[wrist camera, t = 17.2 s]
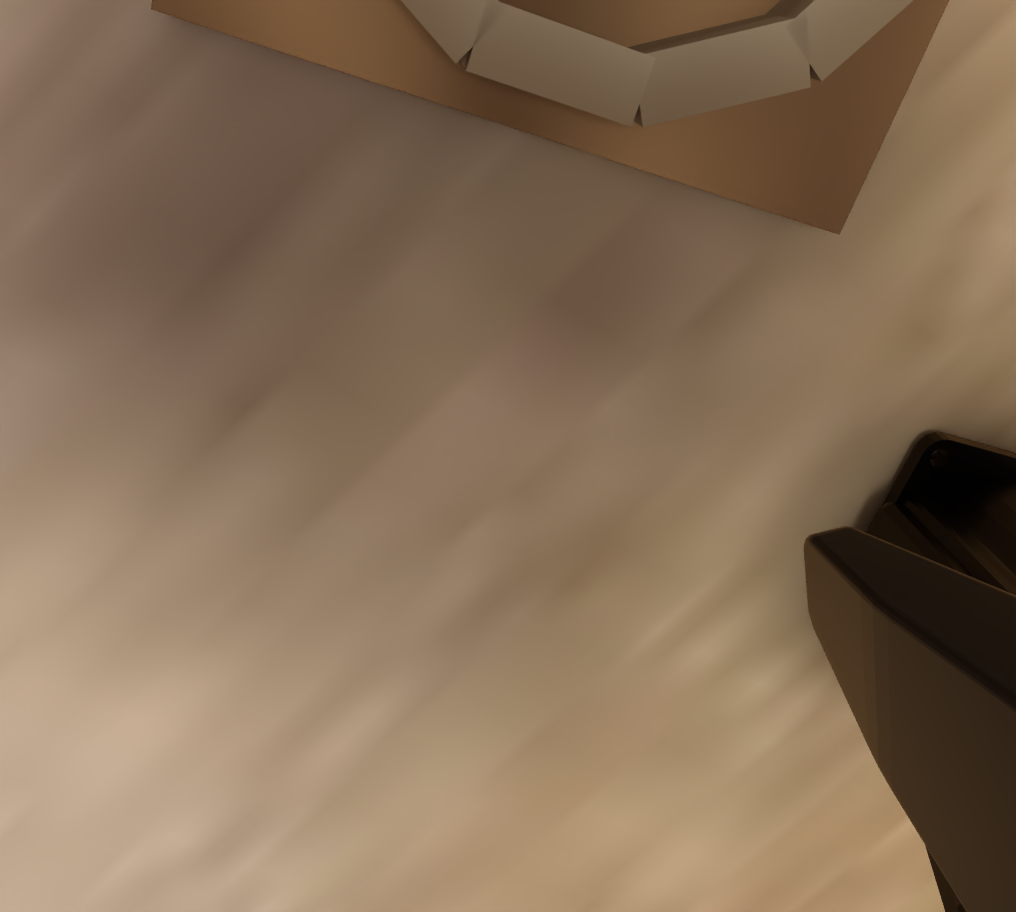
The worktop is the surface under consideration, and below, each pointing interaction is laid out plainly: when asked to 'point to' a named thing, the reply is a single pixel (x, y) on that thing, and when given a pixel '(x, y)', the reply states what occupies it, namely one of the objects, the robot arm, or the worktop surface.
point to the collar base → (638, 78)
